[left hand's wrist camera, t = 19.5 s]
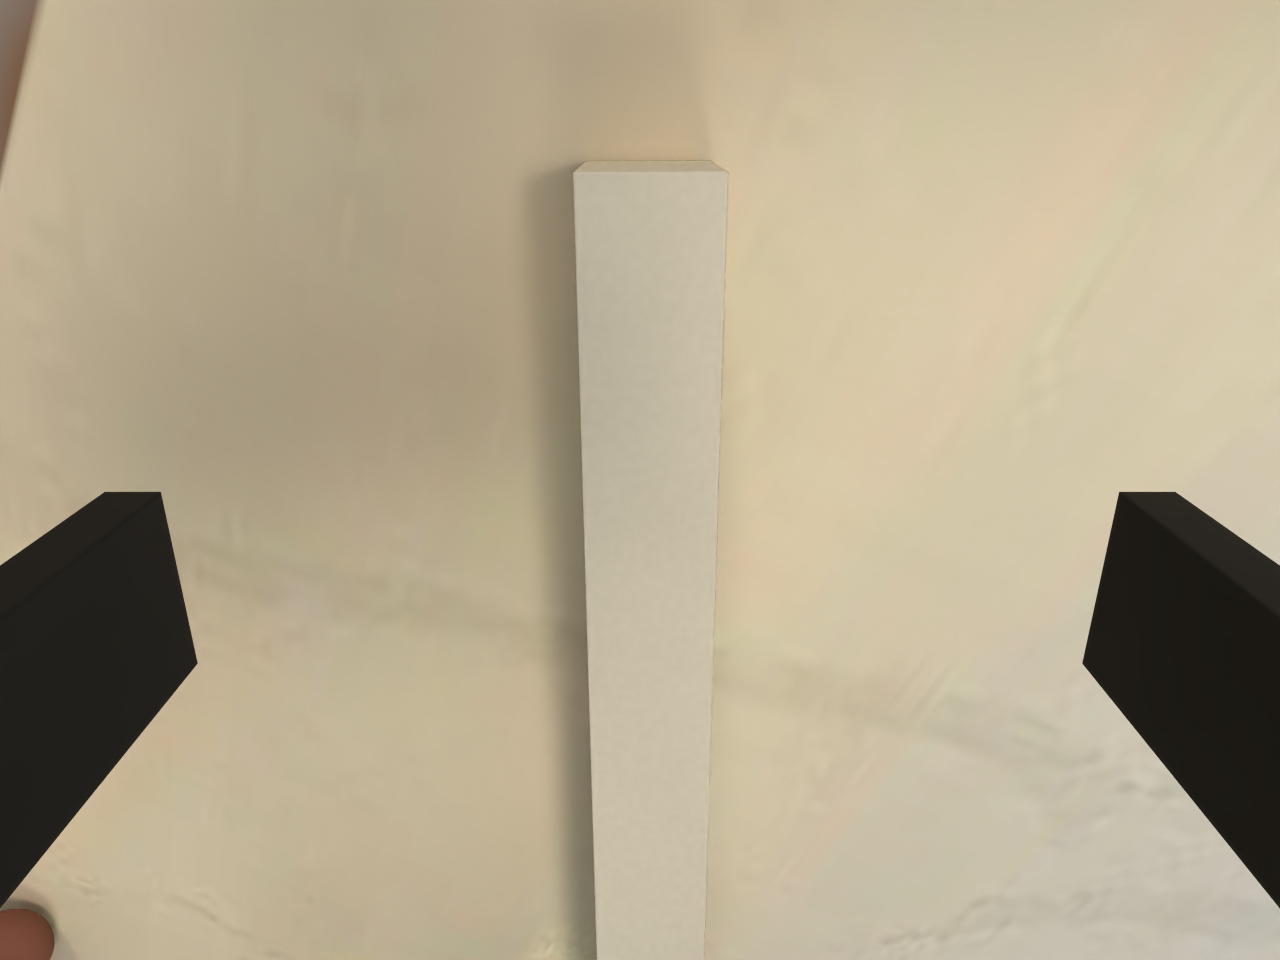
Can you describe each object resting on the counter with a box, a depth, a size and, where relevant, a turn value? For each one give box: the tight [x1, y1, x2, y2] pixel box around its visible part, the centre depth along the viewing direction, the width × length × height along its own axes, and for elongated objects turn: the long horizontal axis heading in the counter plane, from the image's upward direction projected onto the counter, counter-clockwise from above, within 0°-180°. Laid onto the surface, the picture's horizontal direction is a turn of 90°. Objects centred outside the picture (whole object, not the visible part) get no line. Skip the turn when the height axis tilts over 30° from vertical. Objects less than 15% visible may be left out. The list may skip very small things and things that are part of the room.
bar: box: [573, 161, 729, 960], centre depth 51 cm, size 71×6×8 cm, turn 0°
